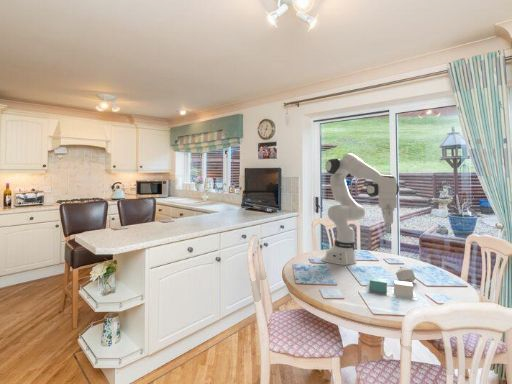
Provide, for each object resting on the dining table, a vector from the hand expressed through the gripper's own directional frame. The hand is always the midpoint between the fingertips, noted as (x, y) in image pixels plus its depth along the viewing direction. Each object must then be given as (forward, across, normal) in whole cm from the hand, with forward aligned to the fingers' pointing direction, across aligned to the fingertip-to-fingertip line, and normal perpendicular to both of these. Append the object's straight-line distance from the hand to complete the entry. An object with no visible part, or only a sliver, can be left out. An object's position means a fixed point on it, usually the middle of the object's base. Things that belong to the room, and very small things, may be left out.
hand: (387, 229), depth 149 cm
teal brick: (+29, -13, +6) cm, 32 cm away
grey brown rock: (+30, +3, -9) cm, 31 cm away
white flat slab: (+30, -14, 0) cm, 33 cm away
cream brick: (+29, -14, -6) cm, 33 cm away
